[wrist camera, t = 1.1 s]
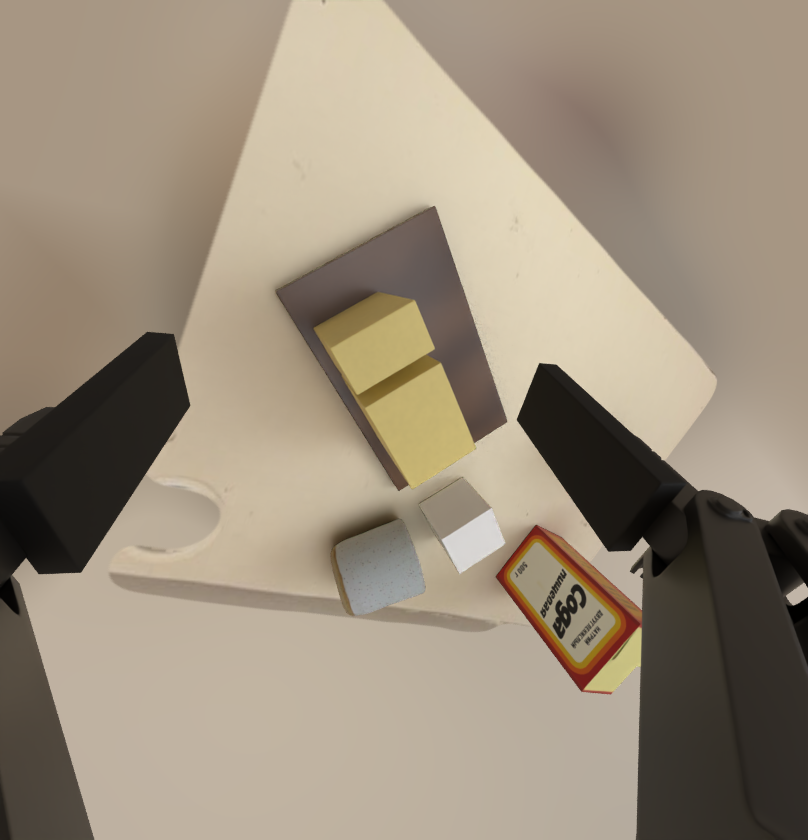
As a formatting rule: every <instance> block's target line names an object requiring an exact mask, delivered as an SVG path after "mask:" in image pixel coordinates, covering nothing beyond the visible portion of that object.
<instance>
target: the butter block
mask: <svg viewBox="0 0 808 840" xmlns="http://www.w3.org/2000/svg"><path fill="white" fill-rule="evenodd" d="M342 378H343V379H344V381H345V383H346V385H347V386H348V388H349V390H350V391H351V393H352V395H353V396H354V398H355V400H356V401H357V403H358V405H359V406H360V408H361V410H362V411H363V413H364V415H365V417H366V418H367V420H368V422H369V423H370V425H371V427H372V428H373V430H374V432H375V433H376V435H377V437H378V438H379V440H380V442H381V443H382V445H383V447H384V448H385V450H386V451H387V453H388V454H389V456H390V457H391V459H392V460H393V462H394V463H395V465H396V466H397V468H398V469H399V471H400V472H401V474H402V475H403V477H404V478H405V480H406V481H407V483H408V484H409V486H410V487H411V489H414V488H416V487H417V486H419V485H420V484H422V483H423V482H425V481H426V480H428V479H430V478H431V477H433V476H434V475H436V474H437V473H439V472H440V471H442V470H444V469H445V468H447V467H448V466H450V465H451V464H453V463H455V462H456V461H458V460H459V459H461V458H462V457H464V456H465V455H467V454H469V453H470V452H472V451H473V450H475V449H476V446H475V444H474V441H473V439H472V437H471V434H470V432H469V429H468V427H467V424H466V422H465V420H464V417H463V415H462V412H461V410H460V408H459V405H458V403H457V400H456V398H455V395H454V393H453V391H452V388H451V386H450V383H449V381H448V379H447V376H446V374H445V371H444V369H443V366H442V364H441V362H439V361H437V360H435V359H433V358H431V357H430V356H428V355H424V356H423V357H421V358H419V359H418V360H416V361H414V362H412V363H411V364H409V365H407V366H406V367H404V368H402V369H401V370H399V371H397V372H396V373H394V374H392V375H391V376H389V377H387V378H385V379H384V380H382V381H380V382H379V383H377V384H375V385H374V386H372V387H370V388H369V389H367V390H365V391H364V392H362V393H360V394H358V395H356V393H355V392H354V391H353V389H352V388H351V387H350V385H349V384H348V382H347V381H346V380H345V378H344V377H343V375H342Z"/></svg>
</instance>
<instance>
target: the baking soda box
mask: <svg viewBox="0 0 808 840" xmlns="http://www.w3.org/2000/svg"><path fill="white" fill-rule="evenodd" d="M496 578H497V579H498V581H499V582H500V583H501V585H502V586H503V587H504V589H505V590H506V591H507V593H508V594H509V595H510V597H511V598H512V599H513V601H514V602H515V603H516V605H517V606H518V607H519V609H520V610H521V611H522V613H523V614H524V615H525V617H526V618H527V619H528V621H529V622H530V623H531V625H532V626H533V627H534V629H535V630H536V631H537V633H538V634H539V635H540V637H541V638H542V639H543V641H544V642H545V643H546V645H547V646H548V648H549V649H550V650H551V652H552V653H553V654H554V656H555V657H556V658H557V659H558V661H559V662H560V664H561V665H562V666H563V668H564V669H565V670H566V671H567V673H568V674H569V676H570V677H571V678H572V680H573V681H574V682H575V684H576V685H577V686H578V688H579V689H580V690H581V691H582V692H590V693H601V694H612V692H614V690H615V689H616V688H617V687H618V686H619V685H620V684H621V683H622V681H624V680H625V678H626V677H627V676H628V675H629V674H630V673H631V672H632V671H633V670H634V669H635V668H636V666H638V667H640V666H641V637H642V610H641V609H640V608H639V607H637V606H636V605H635V604H634V603H633V602H632V601H630V599H629V598H628V597H627V596H625V595H624V594H623V593H622V592H621V591H620V590H619V589H618V588H617V587H616V586H614V585H613V584H612V583H611V582H610V581H609V580H608V579H607V578H606V577H604V576H603V575H602V574H601V573H600V572H599V571H598V570H597V569H596V568H595V567H594V566H592V565H591V564H590V563H589V562H588V561H587V560H586V559H585V558H584V557H583V556H581V555H580V554H579V553H578V552H577V551H576V550H575V549H574V548H573V547H572V546H570V545H569V544H568V543H567V542H566V541H565V540H564V539H563V538H562V537H560V536H558V535H556V534H554V533H552V532H550V531H548V530H546V529H544V528H542V527H540V526H537V525H536V526H535V527H534V528H533V529H532V531H531V532H530V533H529V535H528V536H527V537H526V538H525V540H524V541H523V542H522V544H521V545H520V546H519V547H518V549H517V550H516V551H515V553H514V554H513V555H512V556H511V558H510V559H509V560H508V562H507V563H506V564H505V565H504V567H503V568H502V569H501V571H500V572H499V573H498V574H497V576H496Z"/></svg>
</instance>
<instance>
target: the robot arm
mask: <svg viewBox="0 0 808 840" xmlns="http://www.w3.org/2000/svg"><path fill="white" fill-rule="evenodd" d="M189 407H190V402H189V398H188V393H187V389H186V385H185V380H184V376H183V372H182V367H181V363H180V359H179V355H178V350H177V346H176V342H175V337H174V334H166V333H154V332H147V333H146V334H144V335H143V336H142V337H140V338H139V339H138V340H137V341H136V342H134V343H133V344H132V345H131V346H130V347H128V348H127V349H126V350H125V351H123V352H122V353H121V354H120V355H119V356H117V357H116V358H115V359H114V360H112V361H111V362H110V363H109V364H107V365H106V366H105V367H104V368H103V369H101V370H100V371H99V372H98V373H96V374H95V375H94V376H93V377H92V378H91V379H89V380H88V381H87V382H85V384H83V385H82V386H81V387H79V388H78V389H77V390H76V391H75V392H73V393H72V394H71V395H70V396H69V397H67V398H66V399H65V400H64V401H62V402H61V403H60V404H59V405H57V406H56V407H46V408H43V409H41V410H39V411H37V412H34V413H32V414H30V415H28V416H26V417H24V418H21V419H20V420H19V421H17V422H16V423H15V424H13V425H12V426H11V427H9V428H8V429H7V430H5V431H4V432H3V435H2V436H0V840H94V837H93V833H92V830H91V827H90V823H89V820H88V816H87V813H86V809H85V806H84V803H83V799H82V796H81V792H80V789H79V786H78V782H77V779H76V776H75V772H74V769H73V765H72V762H71V758H70V755H69V752H68V748H67V745H66V742H65V738H64V734H63V731H62V727H61V724H60V721H59V717H58V714H57V711H56V707H55V704H54V700H53V697H52V693H51V690H50V686H49V683H48V680H47V676H46V673H45V669H44V666H43V663H42V659H41V656H40V652H39V649H38V645H37V642H36V639H35V635H34V632H33V629H32V625H31V622H30V618H29V615H28V611H27V608H26V605H25V601H24V598H23V594H22V591H21V587H20V584H19V583H18V581H17V580H16V579H15V578H14V577H13V576H12V574H13V573H14V572H15V570H16V569H17V568H18V567H19V566H20V564H21V563H22V562H23V561H24V559H25V558H27V559H28V561H29V562H30V563H31V565H32V566H33V567H34V569H35V570H36V571H37V572H38V574H56V573H57V574H58V573H81V572H82V570H83V569H84V567H85V566H86V564H87V563H88V561H89V560H90V558H91V557H92V555H93V554H94V552H95V551H96V549H97V548H98V546H99V544H100V543H101V541H102V540H103V538H104V537H105V535H106V533H107V532H108V531H109V529H110V528H111V526H112V525H113V523H114V521H115V520H116V518H117V517H118V515H119V514H120V512H121V511H122V509H123V507H124V506H125V505H126V503H127V502H128V500H129V499H130V497H131V496H132V494H133V492H134V491H135V489H136V488H137V486H138V485H139V483H140V482H141V480H142V479H143V477H144V476H145V474H146V473H147V471H148V470H149V468H150V466H151V465H152V463H153V462H154V460H155V459H156V457H157V456H158V454H159V453H160V451H161V450H162V448H163V447H164V445H165V444H166V442H167V440H168V439H169V437H170V436H171V434H172V433H173V431H174V430H175V428H176V427H177V425H178V424H179V422H180V421H181V419H182V418H183V416H184V414H185V413H186V411H187V410H188V408H189ZM517 421H518V422H519V424H520V425H521V427H522V428H523V430H524V431H525V433H526V434H527V435H528V437H529V438H530V440H531V441H532V443H533V444H534V445H535V447H536V448H537V450H538V451H539V453H540V454H541V456H542V457H543V458H544V460H545V461H546V463H547V464H548V466H549V467H550V468H551V470H552V471H553V473H554V474H555V476H556V477H557V479H558V480H559V481H560V483H561V484H562V486H563V487H564V489H565V490H566V491H567V493H568V494H569V496H570V497H571V499H572V500H573V502H574V503H575V504H576V506H577V507H578V509H579V510H580V512H581V513H582V514H583V516H584V517H585V519H586V520H587V522H588V523H589V525H590V526H591V527H592V529H593V530H594V532H595V533H596V535H597V536H598V537H599V539H600V540H601V542H602V543H603V545H604V546H605V548H607V550H608V551H609V552H611V551H631V550H632V548H634V546H635V545H636V544H637V542H639V540H640V539H641V538H642V537H643V538H644V539H645V540H646V542H647V543H648V544H649V545H650V547H649V548H648V549H647V550H646V551H645V553H644V554H643V555H642V556H641V557H640V558H639V560H637V562H636V563H635V564H634V565H633V566H632V568H631V570H630V572H632V573H633V574H634V573H635V572H636V571H637V570H638V569H639V568H643V573H642V574H641V576H640V577H641V578H643V598H642V637H641V679H640V717H639V759H638V797H637V798H638V799H637V834H636V840H808V597H807V598H806V599H804V600H803V601H801V602H800V603H798V604H796V605H794V606H793V605H792V604H791V603H790V602H789V601H788V599H787V597H786V595H787V594H789V593H790V592H791V591H793V590H794V589H796V588H797V587H798V586H800V585H801V584H803V583H805V584H806V586H807V587H808V515H806V514H804V513H801V512H798V511H794V510H789V509H787V510H782V511H781V512H779V513H778V514H777V515H776V516H775V517H774V518H773V519H772V520H770V521H766V520H762V519H758V518H754V517H753V516H752V514H751V513H750V512H749V511H748V510H746V509H745V508H744V507H743V506H742V505H740V504H739V503H737V502H736V501H734V500H733V499H730V498H728V497H726V496H724V495H722V494H720V493H717V492H713V491H708V490H701V491H697V490H696V489H695V488H694V487H693V486H691V484H690V483H688V482H687V481H686V480H685V479H684V478H683V477H682V476H681V475H680V474H678V473H677V472H676V471H675V470H674V469H673V468H672V467H671V466H670V465H669V464H667V463H666V462H665V461H664V460H661V457H660V456H659V455H657V454H656V453H655V452H654V451H652V449H651V448H650V447H649V446H647V445H646V444H645V443H644V442H643V441H642V440H641V439H640V438H638V437H636V436H635V435H633V434H632V433H631V432H630V431H629V430H628V429H627V428H625V427H624V426H623V425H622V424H621V423H620V422H619V421H618V420H617V419H616V418H614V417H613V416H612V415H611V414H610V413H609V412H608V411H607V410H606V409H605V408H603V407H602V406H601V405H600V404H599V403H598V402H597V401H596V400H595V399H594V398H592V397H591V396H590V395H589V394H588V393H587V392H586V391H585V390H584V389H583V388H581V387H580V386H579V385H578V384H577V383H576V382H575V381H574V380H573V379H572V378H571V377H569V376H568V375H567V374H566V373H565V372H564V371H563V370H562V369H561V368H560V367H558V366H557V365H554V364H542V363H539V365H538V368H537V370H536V373H535V375H534V378H533V380H532V383H531V385H530V388H529V390H528V393H527V395H526V398H525V400H524V403H523V405H522V408H521V410H520V413H519V415H518V418H517Z"/></svg>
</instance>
